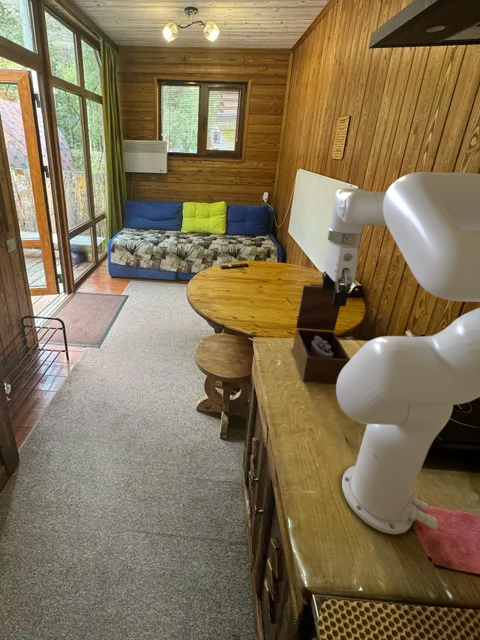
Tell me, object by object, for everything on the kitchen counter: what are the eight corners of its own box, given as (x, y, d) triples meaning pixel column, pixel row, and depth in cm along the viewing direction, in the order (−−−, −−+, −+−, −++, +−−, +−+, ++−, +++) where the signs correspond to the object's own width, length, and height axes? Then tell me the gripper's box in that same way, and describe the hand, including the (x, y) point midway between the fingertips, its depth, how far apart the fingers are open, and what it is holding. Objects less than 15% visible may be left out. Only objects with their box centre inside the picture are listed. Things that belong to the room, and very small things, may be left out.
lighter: (331, 373, 97) (337, 347, 93) (323, 376, 95) (328, 349, 92) (313, 358, 104) (318, 332, 100) (305, 360, 102) (310, 334, 99)
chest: (345, 385, 93) (351, 361, 90) (302, 381, 94) (307, 357, 91) (329, 352, 108) (333, 331, 105) (292, 349, 109) (296, 328, 106)
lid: (344, 288, 98) (338, 280, 103) (304, 286, 99) (300, 278, 104) (334, 331, 104) (329, 321, 109) (296, 328, 106) (293, 318, 111)
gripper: (374, 247, 71) (359, 313, 76) (347, 230, 87) (336, 285, 93) (340, 246, 72) (328, 311, 77) (319, 229, 88) (310, 284, 93)
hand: (332, 297), depth 85 cm, fingers open, 9 cm apart
